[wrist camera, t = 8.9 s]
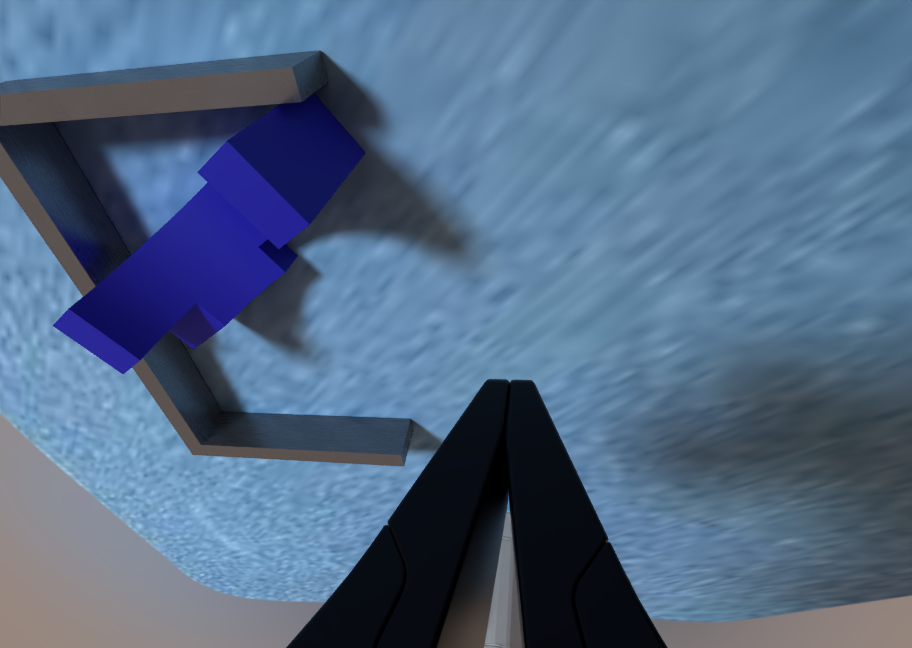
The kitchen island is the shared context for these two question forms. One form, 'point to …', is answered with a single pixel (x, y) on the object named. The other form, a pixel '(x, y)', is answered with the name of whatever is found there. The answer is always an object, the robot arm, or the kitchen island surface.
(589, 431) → the kitchen island surface
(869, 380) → the kitchen island surface
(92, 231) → the rail bay
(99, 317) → the blue stepped block
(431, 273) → the kitchen island surface
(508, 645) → the hinge
